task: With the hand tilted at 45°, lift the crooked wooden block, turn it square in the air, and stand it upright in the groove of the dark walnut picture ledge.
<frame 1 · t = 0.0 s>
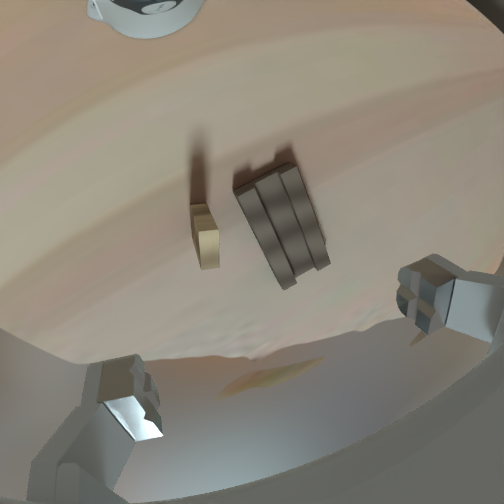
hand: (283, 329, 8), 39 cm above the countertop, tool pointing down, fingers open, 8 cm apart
wooden block: (199, 220, 48), on the countertop
ledge: (283, 226, 52), on the countertop
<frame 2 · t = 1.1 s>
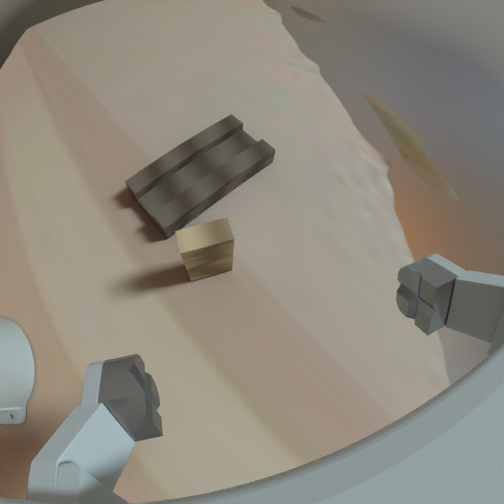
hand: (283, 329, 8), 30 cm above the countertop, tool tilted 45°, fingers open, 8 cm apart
wooden block: (208, 266, 40), on the countertop
ledge: (202, 175, 45), on the countertop
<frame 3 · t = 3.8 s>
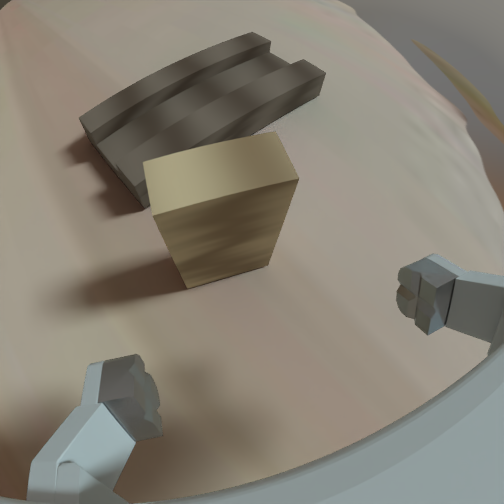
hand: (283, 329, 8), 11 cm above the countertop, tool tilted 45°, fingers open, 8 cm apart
wooden block: (222, 259, 20), on the countertop
ledge: (207, 109, 25), on the countertop
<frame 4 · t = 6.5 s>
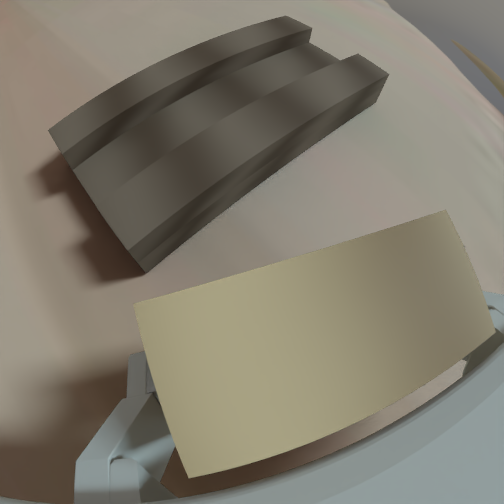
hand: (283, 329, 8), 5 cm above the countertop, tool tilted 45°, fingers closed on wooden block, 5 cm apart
wooden block: (268, 356, 13), on the countertop, touching gripper
ledge: (232, 115, 18), on the countertop
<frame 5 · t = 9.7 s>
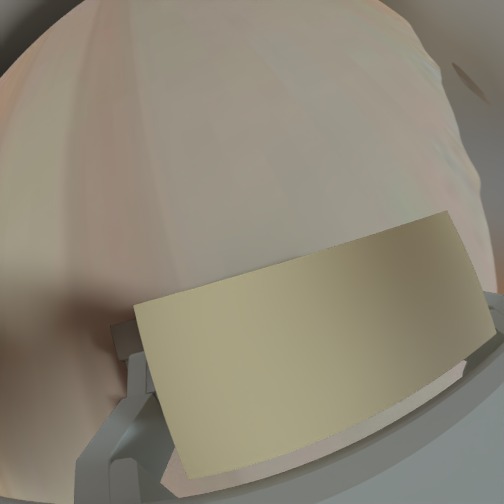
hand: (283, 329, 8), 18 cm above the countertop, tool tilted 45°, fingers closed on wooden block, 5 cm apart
wooden block: (268, 357, 13), point 12 cm above the countertop, touching gripper
ledge: (249, 353, 25), on the countertop
when the fingers open (8 cm above the countertop, at t = 13.0 s): wooden block stays where it is, resting on ledge.
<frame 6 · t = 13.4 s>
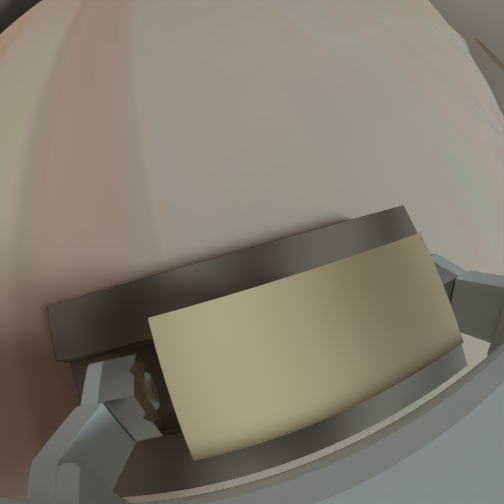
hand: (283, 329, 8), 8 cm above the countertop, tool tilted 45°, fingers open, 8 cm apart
wooden block: (265, 357, 14), point 1 cm above the countertop, touching ledge
ledge: (263, 357, 16), on the countertop
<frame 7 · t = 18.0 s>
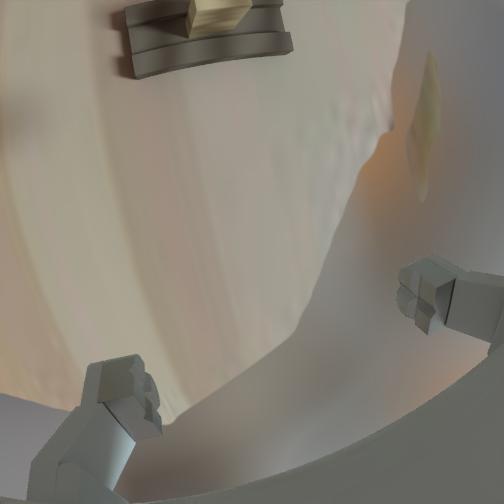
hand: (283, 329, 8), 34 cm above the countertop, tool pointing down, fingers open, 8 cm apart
wooden block: (208, 27, 30), point 1 cm above the countertop, touching ledge
ledge: (207, 30, 32), on the countertop
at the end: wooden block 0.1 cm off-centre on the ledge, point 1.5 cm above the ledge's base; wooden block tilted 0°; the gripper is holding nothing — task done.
